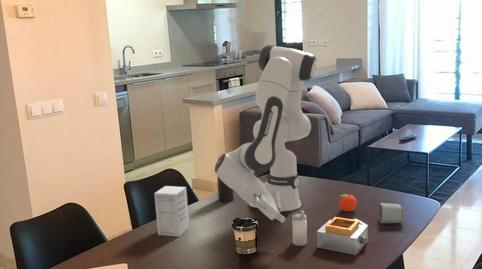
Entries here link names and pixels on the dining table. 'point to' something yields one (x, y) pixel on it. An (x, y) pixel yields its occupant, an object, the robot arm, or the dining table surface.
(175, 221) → the supplement box
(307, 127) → the robot arm
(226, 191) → the bottle
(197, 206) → the dining table surface
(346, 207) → the clementine
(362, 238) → the block
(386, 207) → the ceramic mug
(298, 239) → the spout can
